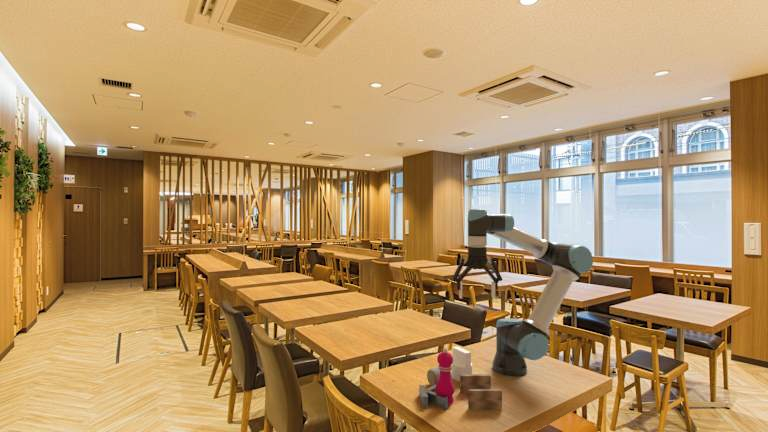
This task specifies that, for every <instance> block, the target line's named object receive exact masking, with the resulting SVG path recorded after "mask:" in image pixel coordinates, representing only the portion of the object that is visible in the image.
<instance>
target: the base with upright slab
mask: <svg viewBox="0 0 768 432" xmlns="http://www.w3.org/2000/svg"><path fill="white" fill-rule="evenodd" d="M452 357H453V363H452V364H451V366H452V367H451V368H452V370H451V371H450V372H451V375H452V380H454V381H457V382H460V374H473V363H472V352H471V351H469V350H467V349H465V348H463V347H460V346H458V345H456V346H453V347H452Z"/></svg>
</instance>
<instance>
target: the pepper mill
mask: <svg viewBox="0 0 768 432" xmlns="http://www.w3.org/2000/svg"><path fill="white" fill-rule="evenodd" d="M436 360H437V363H438V366H439V368H438V369H439V370H440V377H439V380H438V382H437V384H436V389H435V390H436V393H438V394H440V395H443V396H446V397H448V406H449V405H451V404H453V403H454V396H453V395H454V394H455V392H456V391H455V385H454V382H453V381H452V380H453V379H452V380H451V376H450V372H451V370H452V368H451V367H452V366H451V364H452V363H453V354H451V353H450V352H448V349H447V348H445V347H444V348H443V349H442V352H440V353H439V354H438V355H437V358H436Z"/></svg>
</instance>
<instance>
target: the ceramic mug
mask: <svg viewBox="0 0 768 432" xmlns="http://www.w3.org/2000/svg"><path fill="white" fill-rule="evenodd" d="M438 368H439V365H438V366H435V367H433V368H429V369H428V370H427V373H426V377H427V381H428V383H429V385H430V387H431V386H433V385H435V384H437V382H438V380H439V377H440V370H439V369H438ZM450 376H451V380H453V378H452V375H451V371H450Z"/></svg>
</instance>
